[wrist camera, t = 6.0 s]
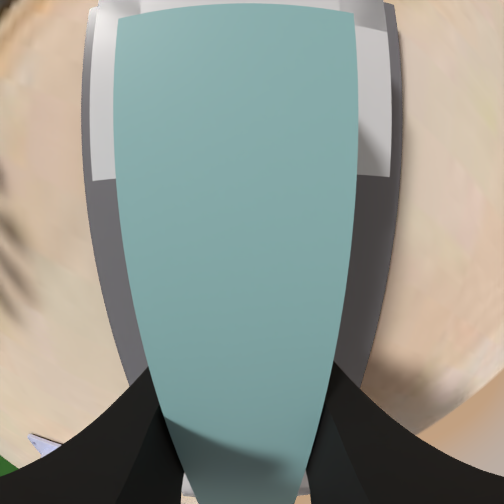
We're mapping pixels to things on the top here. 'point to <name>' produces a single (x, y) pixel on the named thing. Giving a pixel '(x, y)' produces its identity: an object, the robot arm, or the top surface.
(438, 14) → the top surface
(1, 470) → the hardback book
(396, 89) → the cradle
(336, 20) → the teal rectangular block
